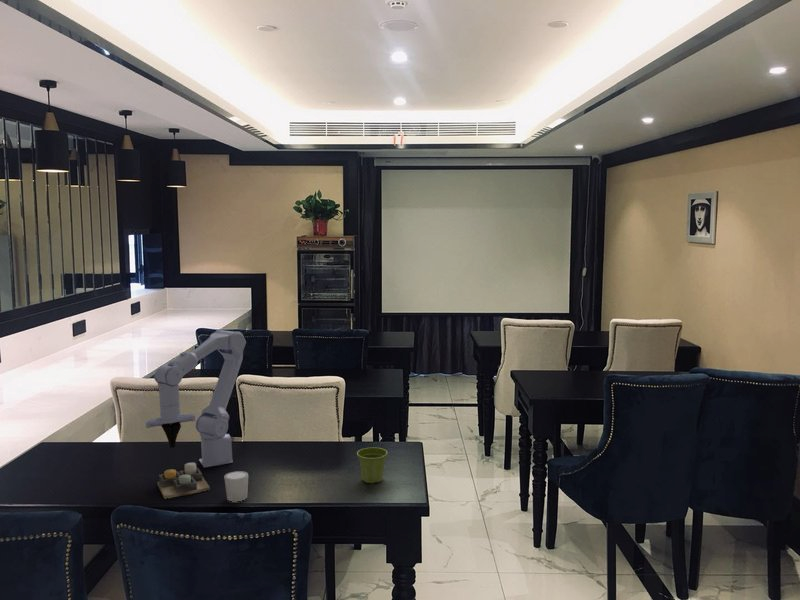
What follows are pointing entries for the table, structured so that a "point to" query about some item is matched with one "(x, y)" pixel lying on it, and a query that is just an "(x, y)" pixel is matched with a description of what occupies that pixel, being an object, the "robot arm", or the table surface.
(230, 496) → the white cup
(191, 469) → the white small cylinder
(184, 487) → the button panel board
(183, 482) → the sage button
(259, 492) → the table surface
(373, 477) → the plant pot
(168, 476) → the amber button
